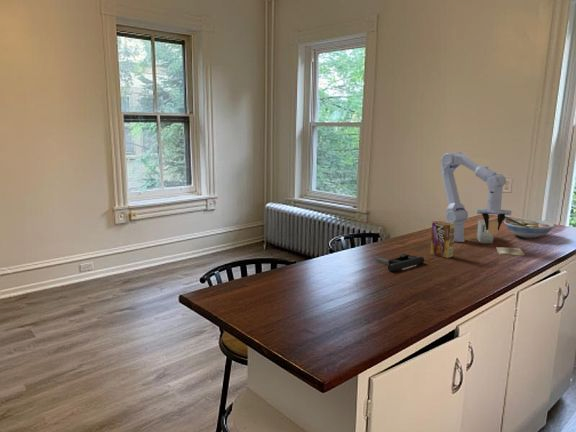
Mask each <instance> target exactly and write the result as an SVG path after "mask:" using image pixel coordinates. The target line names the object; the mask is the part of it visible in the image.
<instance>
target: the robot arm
mask: <svg viewBox="0 0 576 432" xmlns="http://www.w3.org/2000/svg"><path fill="white" fill-rule="evenodd" d="M440 163H441V168H440V171H441V172H440V173H441V177H442V182H443V187H444V190H445V194H446V198H447V204H448V206H447V207H446V209H445V210H446V215H445V217H446V220H447V222H451V223H455V229H454V242H457V243H459V242H460V243H465V242H466V241H465V238H464V229H465V222H466V220H467V219H468V217H469V214H468V211H467V210H466V208H465V205H464V204H463V203H462V202H461V199H460V196H459V191H458V187H457V183H456V178H455V175H454V172H455V170H456V169H458V167H459V166H461V165H462V166H464V167H465V168H467V169H469V170H471V171H473V172H475V177H477V178H478V179H480V180H482V181H483V182H484V183H485V184H486V185H487V188H488V189H487V190H488V191H487V192H488V194H487V207H486V208H485V209H483V208H481V209H476V215H482V217H483V220H484V221H485V225H486V230H488V222H489V220H490V215H497V221H498V231H500V227H501V225H502V223H503V222H504V221H505V219H504V218H505V217H506V216H512V210H508V209H502V201H503V199H502V198H503V187H504V186H505V185H506V182H507V181H506V177H505V176H504V175H503V174H501V173H497V172H496V171H493V170H492V169H490V168H489V166H488V165H479V164H477V163H476V162H475V161H474V160H472V159H470V158H469V157H468V156H467V155H466V154H464V153H462V152H459V151H457V152H446V153H444V154H443V155H442V157H441V158H440Z"/></svg>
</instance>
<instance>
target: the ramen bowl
mask: <svg viewBox="0 0 576 432" xmlns="http://www.w3.org/2000/svg"><path fill="white" fill-rule="evenodd" d="M503 222H504V225H505V227H506V228H507V230H509V231H510V232H511V233H513V234H515V235H516V236H519V237H521V238H524V239H535V238H537V237H543V236H545V235H547V234H548V233H550V231H552V230H553V228H554V226H555V224H554V223H552V222H549V221H546V220H541V219H540V220H539V219H532V218H510V217H508V216H505V218H504V220H503Z"/></svg>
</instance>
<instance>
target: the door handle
mask: <svg viewBox="0 0 576 432" xmlns="http://www.w3.org/2000/svg"><path fill="white" fill-rule="evenodd" d="M375 262H378V263H380V264H383V265H387V270H388V271H389V272H396V271H397V272H398V271H400V270H402V271H405V270H408V269H410V268H414V267H417V266H419V265H422V264H424V262H425V258H424V256H415V255H410V254H404V253H402V254H401V255H399V257H397V258H392V259H386V258H382V257H376V258H375Z"/></svg>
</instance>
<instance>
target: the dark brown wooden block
mask: <svg viewBox="0 0 576 432" xmlns="http://www.w3.org/2000/svg"><path fill="white" fill-rule="evenodd" d="M483 226H486V225H485V221H484V219H478V220H477V233H476V239H477V240H478V241H479V243H480V244H494V235H495V234H488V233H487V232H484V230H483Z"/></svg>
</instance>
